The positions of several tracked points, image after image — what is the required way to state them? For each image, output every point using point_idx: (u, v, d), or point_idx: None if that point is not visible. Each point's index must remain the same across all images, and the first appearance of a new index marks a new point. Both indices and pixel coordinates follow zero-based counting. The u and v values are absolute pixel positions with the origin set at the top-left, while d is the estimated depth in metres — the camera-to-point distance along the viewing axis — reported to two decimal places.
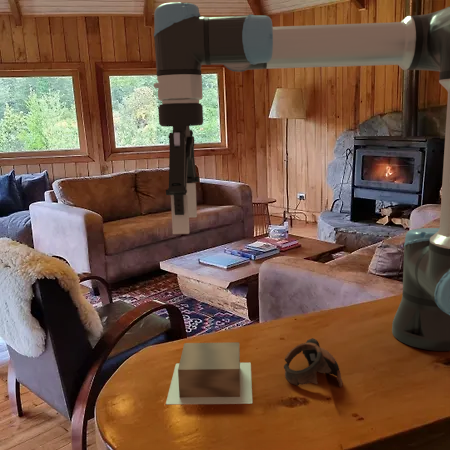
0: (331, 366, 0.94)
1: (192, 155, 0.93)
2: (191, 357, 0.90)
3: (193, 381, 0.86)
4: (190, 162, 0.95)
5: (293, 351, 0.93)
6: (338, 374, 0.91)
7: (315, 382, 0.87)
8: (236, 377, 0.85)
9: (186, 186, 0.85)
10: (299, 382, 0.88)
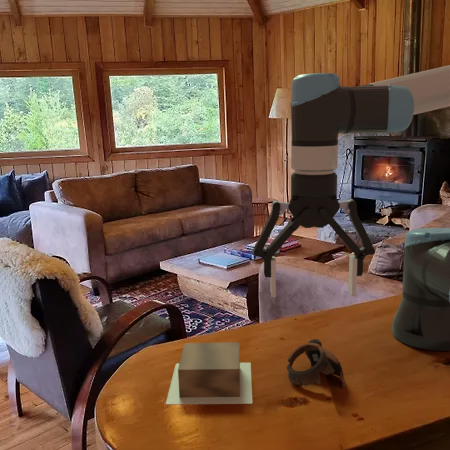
0: (334, 366, 0.93)
1: (332, 227, 0.86)
2: (191, 357, 0.90)
3: (193, 381, 0.86)
4: (338, 234, 0.87)
5: (296, 352, 0.93)
6: (341, 374, 0.91)
7: (318, 383, 0.87)
8: (236, 377, 0.85)
9: (274, 253, 0.88)
10: (302, 383, 0.88)
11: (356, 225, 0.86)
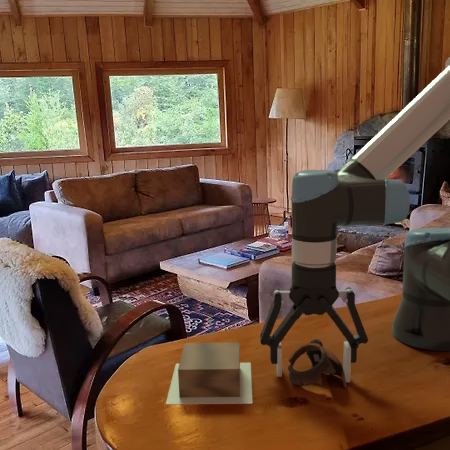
0: (335, 367, 0.93)
1: None
2: (191, 357, 0.90)
3: (193, 381, 0.86)
4: (334, 322, 0.90)
5: (297, 352, 0.93)
6: (342, 374, 0.91)
7: (320, 383, 0.87)
8: (236, 377, 0.85)
9: (280, 341, 0.91)
10: (304, 383, 0.88)
11: (352, 315, 0.90)
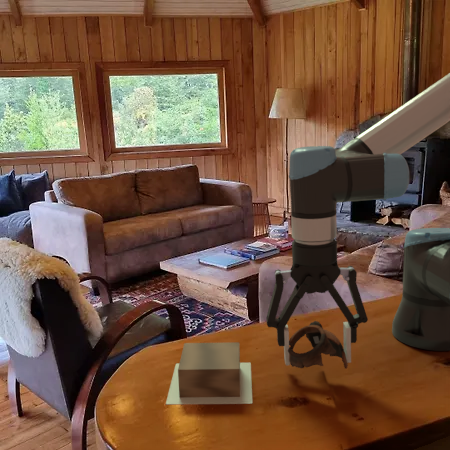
0: (335, 348, 0.92)
1: (330, 294, 0.89)
2: (191, 357, 0.90)
3: (193, 381, 0.86)
4: (335, 301, 0.90)
5: (296, 334, 0.92)
6: (343, 355, 0.90)
7: (320, 364, 0.86)
8: (236, 377, 0.85)
9: (286, 322, 0.90)
10: (304, 365, 0.87)
11: (353, 293, 0.89)
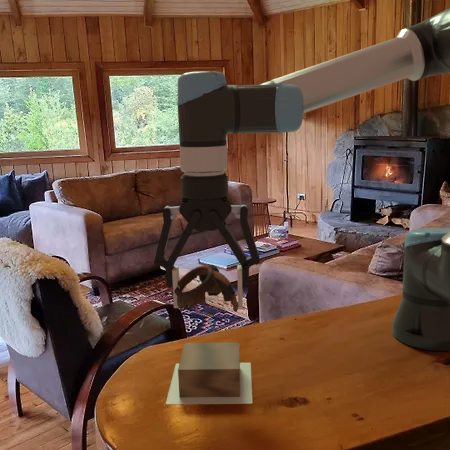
0: (228, 291, 0.88)
1: (220, 232, 0.84)
2: (191, 357, 0.90)
3: (193, 381, 0.86)
4: None
5: (187, 275, 0.87)
6: (232, 297, 0.85)
7: (203, 303, 0.81)
8: (236, 377, 0.85)
9: (174, 261, 0.85)
10: (187, 304, 0.82)
11: (244, 232, 0.84)
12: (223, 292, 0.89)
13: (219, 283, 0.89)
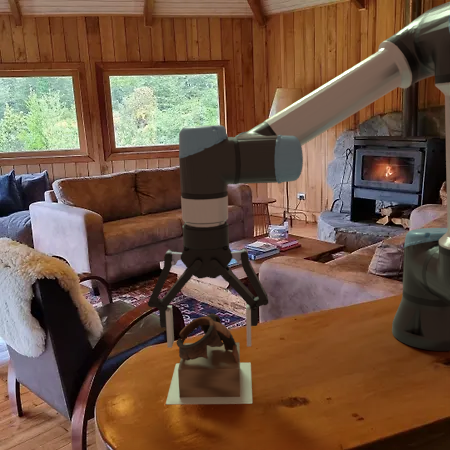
0: (229, 341, 0.89)
1: (224, 278, 0.86)
2: None
3: (193, 381, 0.86)
4: (231, 285, 0.86)
5: (188, 326, 0.89)
6: (233, 349, 0.87)
7: (205, 356, 0.83)
8: (236, 377, 0.85)
9: (169, 303, 0.87)
10: (189, 357, 0.84)
11: (248, 276, 0.86)
12: (224, 341, 0.91)
13: None
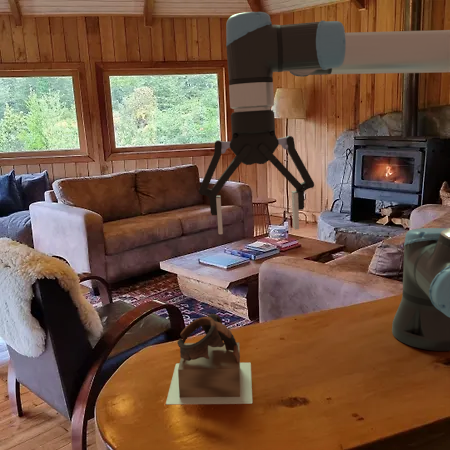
0: (230, 341, 0.89)
1: (272, 163, 0.90)
2: None
3: (193, 381, 0.86)
4: None
5: (189, 326, 0.89)
6: (234, 349, 0.87)
7: (206, 357, 0.83)
8: (236, 377, 0.85)
9: (219, 190, 0.91)
10: (190, 357, 0.84)
11: (295, 160, 0.91)
12: (225, 341, 0.91)
13: None
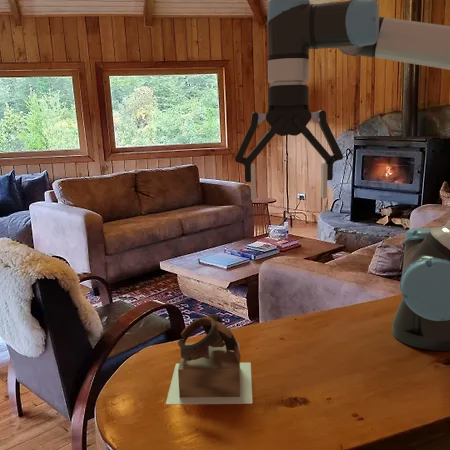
0: (230, 342, 0.89)
1: (304, 135, 0.97)
2: None
3: (193, 381, 0.86)
4: (310, 142, 0.98)
5: (190, 326, 0.89)
6: (235, 349, 0.87)
7: (207, 357, 0.83)
8: (236, 377, 0.85)
9: None
10: (191, 357, 0.84)
11: (326, 133, 0.97)
12: (225, 341, 0.91)
13: (222, 333, 0.91)
